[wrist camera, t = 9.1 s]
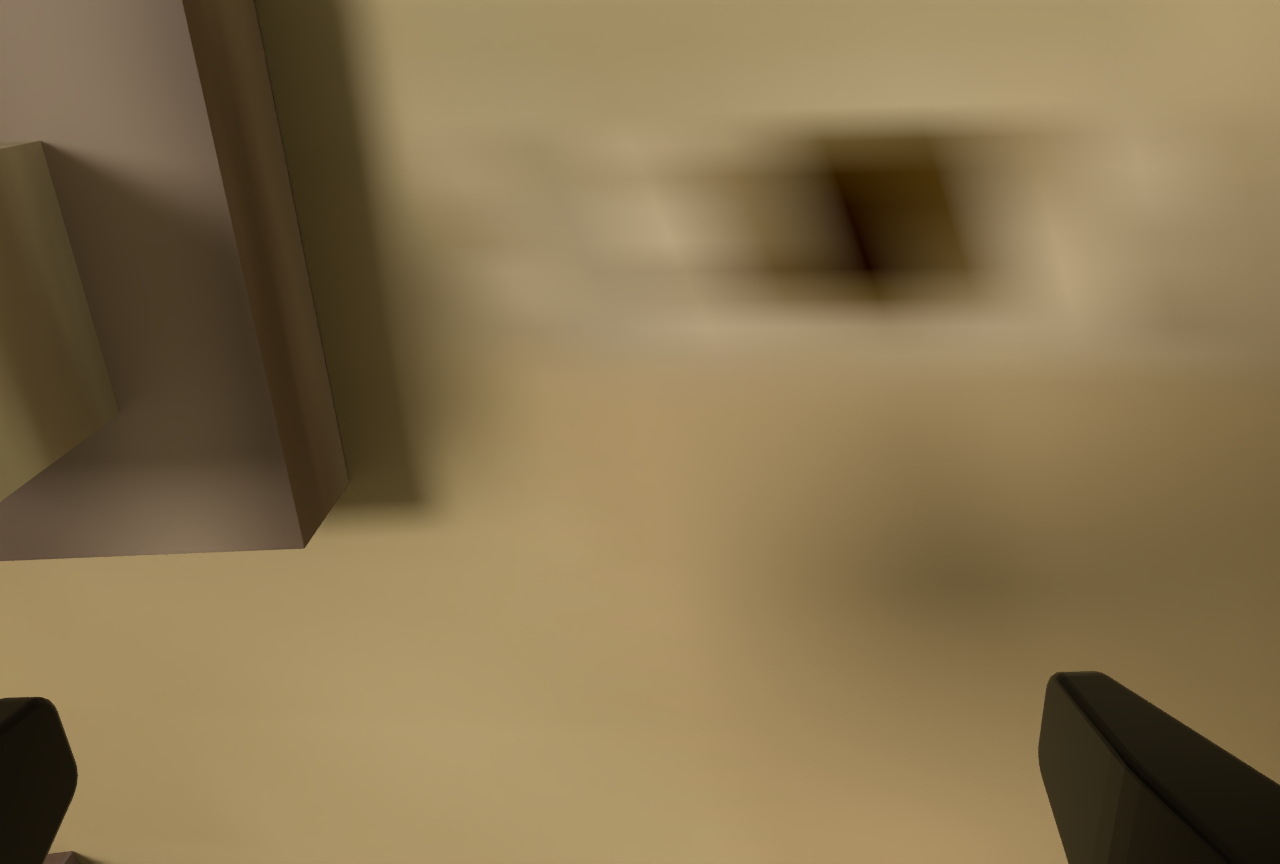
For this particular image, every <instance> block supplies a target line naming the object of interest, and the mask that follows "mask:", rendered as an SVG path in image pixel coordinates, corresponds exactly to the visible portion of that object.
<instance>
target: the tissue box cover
mask: <svg viewBox="0 0 1280 864" xmlns="http://www.w3.org/2000/svg"><path fill="white" fill-rule="evenodd" d="M43 864H80V863H79V862H78V860H77V858H76V856H75V854H74V852H73V851H70V852H62V853H53V854H47V856H46V859H45V861H44V863H43Z"/></svg>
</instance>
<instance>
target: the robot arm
mask: <svg viewBox="0 0 1280 864" xmlns="http://www.w3.org/2000/svg"><path fill="white" fill-rule="evenodd" d="M1038 757H1039V766H1040V771H1041V775H1042V779H1043V782H1044V785H1045V788H1046V792H1047V795H1048V798H1049V802H1050V805H1051V808H1052V811H1053V815H1054V818H1055V821H1056V824H1057V828H1058V831H1059V834H1060V837H1061V841H1062V844H1063V847H1064V851H1065V854H1066V857H1067V860H1068V864H1280V785H1279V784H1277V783H1276V782H1274V781H1273V780H1271V779H1270V778H1268V777H1266V776H1265V775H1263V774H1262V773H1260V772H1258V771H1257V770H1255V769H1254V768H1252V767H1251V766H1249V765H1247V764H1246V763H1244V762H1243V761H1241V760H1240V759H1238V758H1236V757H1235V756H1233V755H1232V754H1230V753H1229V752H1227V751H1225V750H1224V749H1222V748H1221V747H1219V746H1218V745H1216V744H1214V743H1213V742H1211V741H1210V740H1208V739H1206V738H1205V737H1203V736H1202V735H1200V734H1199V733H1197V732H1195V731H1194V730H1192V729H1191V728H1189V727H1188V726H1186V725H1184V724H1183V723H1181V722H1180V721H1178V720H1177V719H1175V718H1173V717H1172V716H1170V715H1169V714H1167V713H1166V712H1164V711H1162V710H1161V709H1159V708H1158V707H1156V706H1154V705H1153V704H1151V703H1150V702H1148V701H1147V700H1145V699H1143V698H1142V697H1140V696H1139V695H1137V694H1136V693H1134V692H1132V691H1131V690H1129V689H1128V688H1126V687H1125V686H1123V685H1121V684H1120V683H1118V682H1117V681H1115V680H1114V679H1112V678H1110V677H1109V676H1107V675H1105V674H1103V673H1101V672H1096V671H1081V672H1057V673H1055V674H1054V675H1053V676H1051V677H1050V679H1049V682H1048V684H1047V688H1046V694H1045V701H1044V709H1043V716H1042V723H1041V731H1040V738H1039V747H1038ZM77 777H78V774H77V765H76V762H75V759H74V756H73V753H72V751H71V748H70V745H69V742H68V739H67V736H66V734H65V731H64V728H63V725H62V722H61V720H60V717H59V714H58V711H57V709H56V707H55V706H54V705H53V704H52V702H51V701H49V700H48V699H45V698H42V697H18V698H3V699H0V864H43V863H44V861H45V859H46V856H47V854H48V852H49V850H50V848H51V845H52V843H53V841H54V839H55V836H56V834H57V832H58V830H59V827H60V825H61V823H62V821H63V819H64V816H65V814H66V812H67V810H68V807H69V805H70V803H71V801H72V798H73V796H74V793H75V790H76V785H77Z"/></svg>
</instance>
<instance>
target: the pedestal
mask: <svg viewBox="0 0 1280 864" xmlns="http://www.w3.org/2000/svg"><path fill="white" fill-rule="evenodd" d="M25 141H41V145H42V148H43V152H44V155H45V158H46V162H47V165H48V169H49V172H50V176H51V179H52V183H53V186H54V189H55V193H56V196H57V200H58V203H59V207H60V210H61V214H62V217H63V220H64V224H65V227H66V231H67V234H68V238H69V241H70V245H71V248H72V252H73V255H74V258H75V262H76V265H77V269H78V272H79V276H80V279H81V283H82V286H83V289H84V293H85V296H86V300H87V303H88V307H89V310H90V314H91V317H92V321H93V324H94V327H95V331H96V334H97V338H98V341H99V345H100V348H101V352H102V355H103V358H104V362H105V365H106V369H107V372H108V376H109V379H110V383H111V386H112V389H113V393H114V396H115V400H116V403H117V407H118V410H119V415H117V416H116V417H114V418H113V419H112V420H110V421H109V422H108V423H106V424H105V425H104V426H102V427H101V428H100V429H98V430H97V431H96V432H94V433H93V434H91V435H90V436H89V437H87V438H86V439H85V440H83V441H82V442H81V443H79V444H78V445H77V446H75V447H74V448H72V449H71V450H70V451H68V452H67V453H66V454H64V455H63V456H62V457H60V458H59V459H58V460H56V461H55V462H54V463H52V464H51V465H49V466H48V467H47V468H45V469H44V470H43V471H41V472H40V473H39V474H37V475H36V476H35V477H33V478H32V479H31V480H29V481H28V482H26V483H25V484H24V485H22V486H21V487H20V488H18V489H17V490H16V491H14V492H13V493H12V494H10V495H9V496H7V497H6V498H5V499H3V500H2V501H1V502H0V561H13V560H37V559H61V558H86V557H110V556H134V555H158V554H182V553H206V552H230V551H255V550H279V549H303V548H305V547H306V545H307V544H308V542H309V541H310V539H311V538H312V536H313V535H314V534H315V532H316V531H317V529H318V528H319V526H320V525H321V523H322V522H323V520H324V519H325V517H326V516H327V514H328V513H329V511H330V510H331V508H332V507H333V505H334V504H335V502H336V501H337V499H338V498H339V496H340V495H341V493H342V492H343V490H344V489H345V487H346V486H347V484H348V483H349V480H348V475H347V470H346V465H345V460H344V455H343V449H342V444H341V439H340V434H339V429H338V424H337V419H336V414H335V409H334V404H333V399H332V394H331V389H330V383H329V378H328V373H327V368H326V363H325V358H324V353H323V348H322V343H321V338H320V333H319V328H318V323H317V318H316V312H315V307H314V302H313V297H312V292H311V287H310V282H309V277H308V272H307V267H306V262H305V257H304V252H303V247H302V241H301V236H300V231H299V226H298V221H297V216H296V211H295V206H294V201H293V196H292V191H291V186H290V181H289V176H288V170H287V165H286V160H285V155H284V150H283V145H282V140H281V135H280V130H279V125H278V120H277V115H276V110H275V104H274V99H273V94H272V89H271V84H270V79H269V74H268V69H267V64H266V59H265V54H264V49H263V44H262V39H261V33H260V28H259V23H258V18H257V13H256V8H255V3H254V0H0V143H9V142H25Z"/></svg>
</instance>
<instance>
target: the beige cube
mask: <svg viewBox="0 0 1280 864" xmlns="http://www.w3.org/2000/svg"><path fill="white" fill-rule="evenodd" d="M117 415H119V410H118V407H117V403H116V400H115V396H114V393H113V389H112V386H111V383H110V379H109V376H108V372H107V369H106V365H105V362H104V358H103V355H102V352H101V348H100V345H99V341H98V338H97V334H96V331H95V327H94V324H93V321H92V317H91V314H90V310H89V307H88V303H87V300H86V296H85V293H84V289H83V286H82V283H81V279H80V276H79V272H78V269H77V265H76V262H75V258H74V255H73V252H72V248H71V245H70V241H69V238H68V234H67V231H66V227H65V224H64V220H63V217H62V214H61V210H60V207H59V203H58V200H57V196H56V193H55V189H54V186H53V183H52V179H51V176H50V172H49V169H48V165H47V162H46V158H45V155H44V152H43V148H42V145H41V141H25V142H9V143H0V502H1V501H2V500H3V499H5V498H6V497H7V496H9V495H10V494H12V493H13V492H14V491H16V490H17V489H18V488H20V487H21V486H22V485H24V484H25V483H26V482H28V481H29V480H31V479H32V478H33V477H35V476H36V475H37V474H39V473H40V472H41V471H43V470H44V469H45V468H47V467H48V466H49V465H51V464H52V463H54V462H55V461H56V460H58V459H59V458H60V457H62V456H63V455H64V454H66V453H67V452H68V451H70V450H71V449H72V448H74V447H75V446H77V445H78V444H79V443H81V442H82V441H83V440H85V439H86V438H87V437H89V436H90V435H91V434H93V433H94V432H96V431H97V430H98V429H100V428H101V427H102V426H104V425H105V424H106V423H108V422H109V421H110V420H112V419H113V418H114V417H116V416H117Z"/></svg>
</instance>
